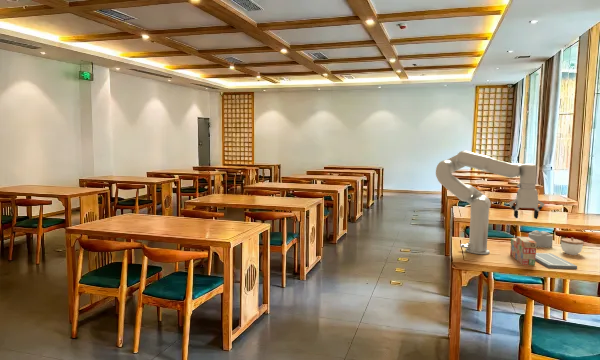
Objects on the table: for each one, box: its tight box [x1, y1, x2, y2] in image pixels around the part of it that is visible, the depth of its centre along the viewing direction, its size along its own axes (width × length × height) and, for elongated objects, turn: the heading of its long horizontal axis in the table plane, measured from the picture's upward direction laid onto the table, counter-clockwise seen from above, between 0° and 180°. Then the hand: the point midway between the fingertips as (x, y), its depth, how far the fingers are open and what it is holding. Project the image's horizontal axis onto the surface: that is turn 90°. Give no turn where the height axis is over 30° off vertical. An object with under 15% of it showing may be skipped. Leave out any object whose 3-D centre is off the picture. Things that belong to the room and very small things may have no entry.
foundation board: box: [535, 252, 578, 270], centre depth 221 cm, size 14×24×2 cm, turn 177°
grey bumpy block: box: [527, 229, 554, 248], centre depth 257 cm, size 10×13×9 cm
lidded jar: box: [560, 237, 584, 256], centre depth 238 cm, size 11×11×9 cm
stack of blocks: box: [510, 236, 537, 266], centre depth 224 cm, size 21×6×12 cm, turn 169°
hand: (525, 218), depth 225 cm, fingers open, 9 cm apart
